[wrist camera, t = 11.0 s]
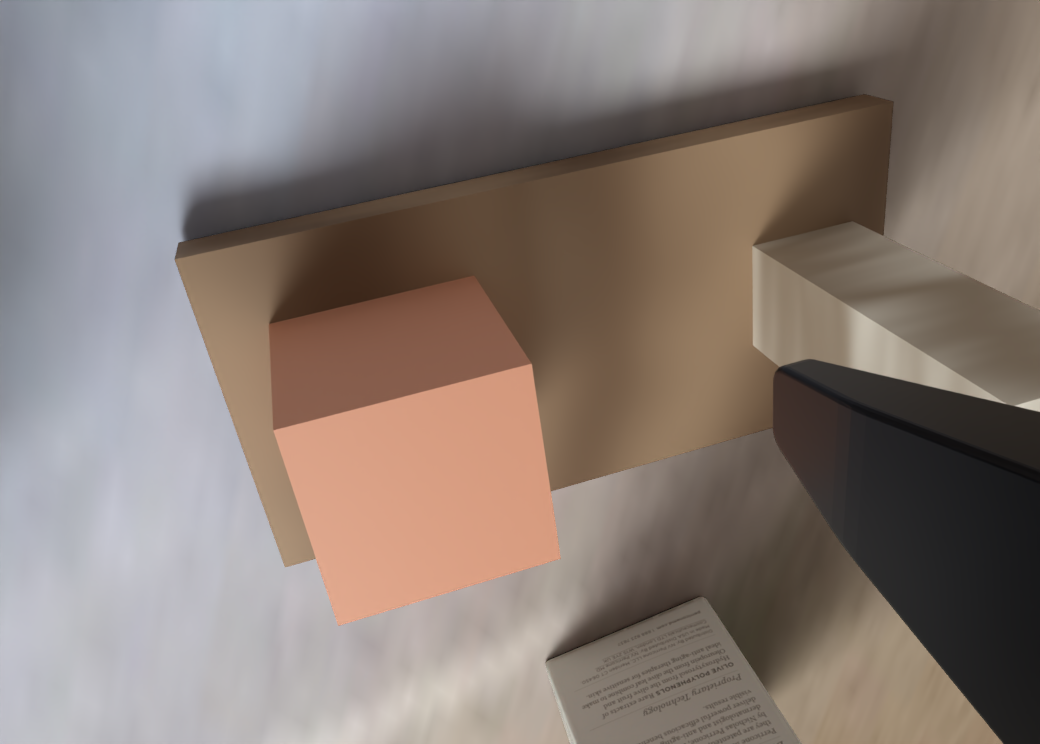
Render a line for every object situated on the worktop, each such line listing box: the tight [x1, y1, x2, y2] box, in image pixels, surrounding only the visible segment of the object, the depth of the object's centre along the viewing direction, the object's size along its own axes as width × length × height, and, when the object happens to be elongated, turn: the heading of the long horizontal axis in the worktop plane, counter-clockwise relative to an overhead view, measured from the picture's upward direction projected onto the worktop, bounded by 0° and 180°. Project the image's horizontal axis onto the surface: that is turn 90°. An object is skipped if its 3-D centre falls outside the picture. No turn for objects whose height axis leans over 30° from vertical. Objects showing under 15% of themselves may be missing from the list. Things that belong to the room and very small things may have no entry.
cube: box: [269, 276, 561, 626], centre depth 19 cm, size 5×5×5 cm
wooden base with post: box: [175, 94, 1040, 567], centre depth 19 cm, size 18×9×10 cm, turn 98°
